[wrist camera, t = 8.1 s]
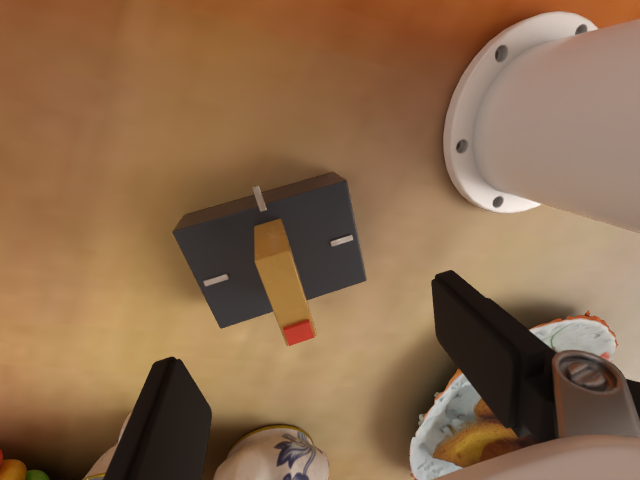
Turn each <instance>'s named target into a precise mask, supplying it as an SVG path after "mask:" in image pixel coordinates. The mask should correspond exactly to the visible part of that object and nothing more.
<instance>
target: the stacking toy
mask: <svg viewBox="0 0 640 480" xmlns="http://www.w3.org/2000/svg"><path fill="white" fill-rule="evenodd" d="M2 460H3V453H2V451H1V449H0V480H49V477H48V476H47V475H46V473H44V472H43V471H40V470H29V471H27V469H26V466H25V464H24V463H23V462H21V461H20V460H16V459H8V460H4V461H2Z"/></svg>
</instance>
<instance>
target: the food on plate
mask: <svg viewBox="0 0 640 480" xmlns="http://www.w3.org/2000/svg"><path fill="white" fill-rule="evenodd" d="M589 315H590V313H589V310H588V311H587V312H586V314H585V315H578V316H576V318H574V317H567V319H566V320H562V319H561V318H559V319H555V320H553V321H551V322H550V323H545V324H540V325H537V326H535V327H534V328H532V329H529V331H531V332H532V333H533V334H534V335H535V336H537V337H538V338H539V339H540V340H542V341H543V342H544V343H545V344H546V345H548V346H549V347H550V348H551V349H553V350H554V351H555V352H556V353H559V352H561V351H564V350H582V351H586V352H590V353H593V354H596V355H598V356H600V357H602V358H605V359H606V360H608V361H609V362H611V363H612V359H613V356H614V354H615V353H614V349H615V348H616V347H617V345H618V344H617V342H616V339H615V337H616V336H615V334H614V333H613V332H612V331H610V329H609V326H608V325H607V324H606V322H605V321H604V320H601V319H600V318H598V317H596V316H589ZM435 393H436V394H435V395H434V396H435V397H436V398H435V402H434V405H433V406H432V407H431V408H430V409H429V411H428V412H427V413H425V414H420V415H419V419H420V421H421V422H418V423H419V429H418V430H417V431H416V432H415V436H414V437H412V440H411V443H410V456H409V460H410V466H411V469H410V470H411V472H412V474H410V475H411V476H412V477H414V480H431V479H434V478H437V477H440V476H443V475H446V474H448V473H451V472H454V471H457V470H460V469H463V468H465V467H468V466H471V465H474V464H477V463H480V462H483V461H486V460H489V459H492V458H495V457H498V456H501V455H504V454H507V453H510V452H513V451H516V450H519V449H522V448H525V447H529V446H532V445H536V444H539V443H541V442H538V441H537V440H536V438H535V437H534V436H533V435H532V434H529V435H527V436H524V437H521V438H518V437H517V436H516V434H515V433H514V432H513V430H512V429H511V428H508V429H507V428H505V427H504V426H503V425H502V424H501V423H500V421H499V420H498V419H497V418H496V416H495V415H494V414H493V412H492V411H491V410H490V408H489V407H488V406H487V404H486V403H485V402H484V401H483V399H482V398H481V397H480V395H479V394H478V393H477V391H476V390H475V389H474V387H473V386H472V385H471V384H470V382H469V381H468V380H467V378H466V377H465V376H464V374H463V373H462V372H461V370H460V369H459V368H458V369H457V372H456V374H455V375H454V376H453V377H452V378H451V379H450V380H449V383H448V385H447V387H446V389H445V390H444V392H441V393H439V392H435Z"/></svg>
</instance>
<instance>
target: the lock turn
mask: <svg viewBox="0 0 640 480" xmlns="http://www.w3.org/2000/svg"><path fill="white" fill-rule="evenodd" d="M254 253H255V264H256V267H257V270H258V272H259V275H260V277H261V280H262V283H263V285H264V288H265V290H266V293H267V296H268V298H269V301H270V303H271V306H272V309H273V311H274V314H275V317H276V319H277V322H278V324H279V327H280V330H281V332H282V335H283V337H284V340H285V343H286V345H287V346H288V345H289V346H291V345H293V344H296V343H299V342H302V341H305V340H308V339H311V338H314V337H315V336H317V333H316V329H315V326H314V323H313V319H312V316H311V313H310V309H309V306H308V302H307V299H306V296H305V292H304V289H303V286H302V283H301V279H300V276H299V273H298V270H297V267H296V264H295V260H294V257H293V254H292V251H291V248H290V245H289V241H288V238H287V235H286V232H285V229H284V226H283V222H282V219H277V220H273V221H270V222H267V223H263V224H260V225H257V226H254Z"/></svg>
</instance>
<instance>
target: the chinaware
mask: <svg viewBox="0 0 640 480" xmlns="http://www.w3.org/2000/svg"><path fill="white" fill-rule="evenodd" d="M131 414H132V411H131V412H130V413H129V414H128V416H127V418H126V420H125V422H124V424H123V426H122V429H121V432H120V436H119V441H120V439H121V437H122V434H123V432H124V430H125V427H126V425H127V423H128V420H129V418H130V416H131ZM119 441H118V443H119ZM118 443H117V444H115V445H114V446H112V447H111V448H110V449H109V450H108V451H106V452H105V453H104V454H103V455H102V456H101V457H100V458H99V459H98V461H97V462H96V463H95V464H94V465H93V467H92V468H91V470H90V471H89V472H88V474H87V475H86V476H85V477H84V479H83V480H103V478H104V476H105V473H106V471H107V469H108V466H109V464H110V462H111V459H112V457H113V455H114V453H115V450H116V448H117V446H118ZM328 471H329V463H328V459H327V457H326V455H325V454H324V453H323V452H322V451H321V450H320V449H318V448H317V447H315V446H313V441H312V439H311V437H310V436H309V435H308V434H307V433H306V432H305V431H303V430H301V429H299V428H296V427H293V426H286V425H275V426H268V427H264V428H260V429H257V430H255V431H252V432H250V433H248V434H246V435H245V436H243V437H242V438H240V439H239V440H238V441H237V442H236V443H235V444H234V445H233V446H232V447H231V448H230V450H229V451H228V453H227V456H226V459H225V461H224V462H223V463H222V464H221V465H220V466H219V467H218V468H217V470H216V472H215V475H214V478H213V480H329V477H328Z"/></svg>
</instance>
